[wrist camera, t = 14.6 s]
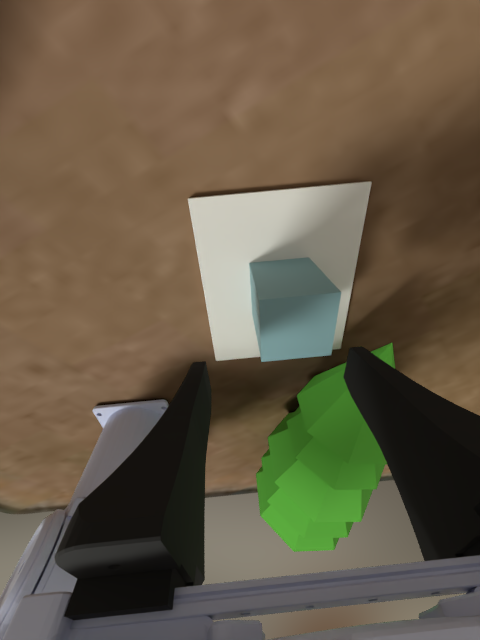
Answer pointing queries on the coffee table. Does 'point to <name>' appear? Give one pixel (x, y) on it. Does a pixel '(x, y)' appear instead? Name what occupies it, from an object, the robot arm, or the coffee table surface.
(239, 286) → the off-white tile
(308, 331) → the teal block
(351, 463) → the decorative tree
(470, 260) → the coffee table surface
